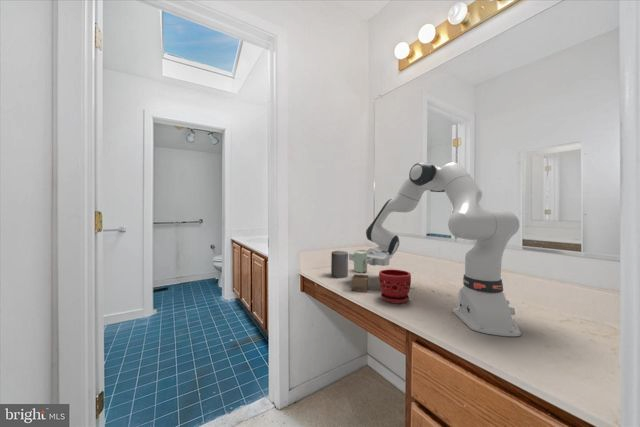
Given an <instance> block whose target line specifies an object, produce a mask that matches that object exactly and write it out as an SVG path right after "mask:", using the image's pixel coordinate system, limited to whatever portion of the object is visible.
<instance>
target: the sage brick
mask: <svg viewBox="0 0 640 427" xmlns="http://www.w3.org/2000/svg"><path fill="white" fill-rule="evenodd" d="M365 259H367V252H361V251H358V252H356V251H354V261H353V271H354V272H357V273H361V274H362V273H365V272H367V271H368V264H365V263H364V260H365Z"/></svg>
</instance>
